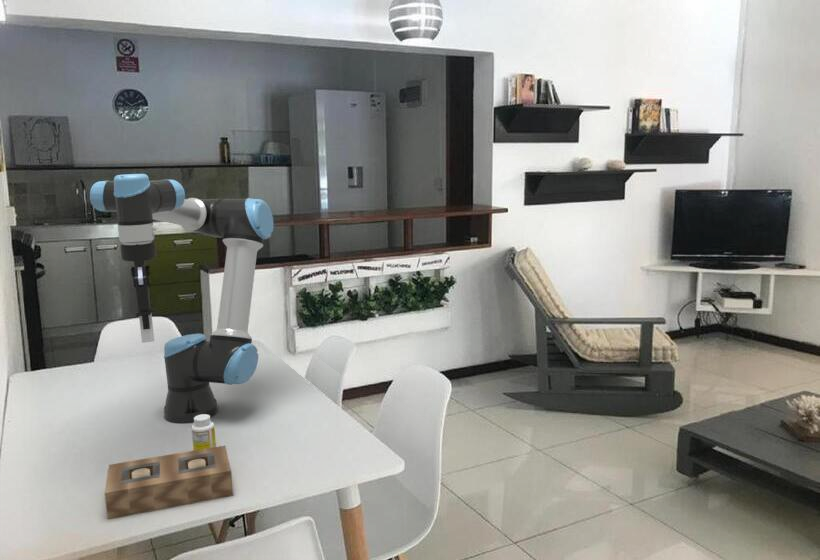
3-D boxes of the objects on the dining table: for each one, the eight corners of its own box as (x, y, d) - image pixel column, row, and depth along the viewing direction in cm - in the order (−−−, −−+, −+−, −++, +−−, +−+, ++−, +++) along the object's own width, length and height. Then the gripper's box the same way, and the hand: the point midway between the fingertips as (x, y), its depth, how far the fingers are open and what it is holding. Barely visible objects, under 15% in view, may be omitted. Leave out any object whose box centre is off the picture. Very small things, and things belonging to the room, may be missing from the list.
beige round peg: (134, 502, 152) (131, 477, 151) (134, 494, 155) (132, 469, 154) (152, 499, 153) (149, 474, 152) (152, 491, 157) (149, 466, 155)
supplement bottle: (208, 447, 178) (205, 411, 176) (221, 453, 175) (217, 416, 173) (189, 455, 174) (186, 417, 172) (202, 461, 171) (198, 423, 169)
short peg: (190, 492, 156) (188, 467, 155) (190, 484, 159) (187, 460, 158) (208, 488, 157) (205, 464, 156) (206, 481, 160) (204, 457, 159)
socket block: (107, 519, 145) (104, 493, 144) (111, 488, 158) (108, 464, 157) (233, 495, 154) (231, 470, 153) (227, 468, 167) (225, 445, 166)
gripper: (154, 244, 152) (165, 346, 157) (155, 237, 164) (164, 332, 169) (118, 247, 149) (130, 350, 154) (121, 239, 161) (132, 336, 166)
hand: (148, 341), depth 161 cm, fingers closed
